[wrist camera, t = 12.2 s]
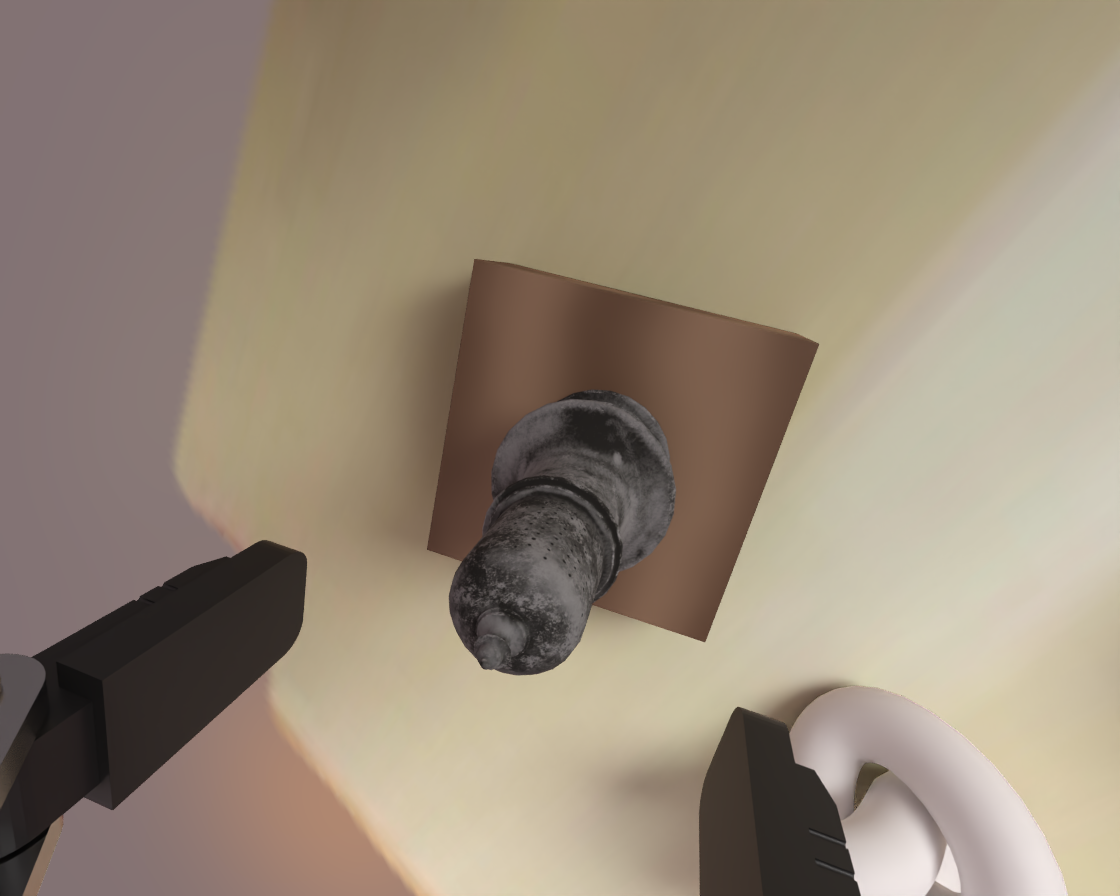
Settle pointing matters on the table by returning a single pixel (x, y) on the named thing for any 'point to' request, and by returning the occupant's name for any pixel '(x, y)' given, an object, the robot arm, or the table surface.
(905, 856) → the white knot sculpture
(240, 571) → the robot arm
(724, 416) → the walnut base
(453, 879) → the table surface
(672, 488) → the salt shaker
